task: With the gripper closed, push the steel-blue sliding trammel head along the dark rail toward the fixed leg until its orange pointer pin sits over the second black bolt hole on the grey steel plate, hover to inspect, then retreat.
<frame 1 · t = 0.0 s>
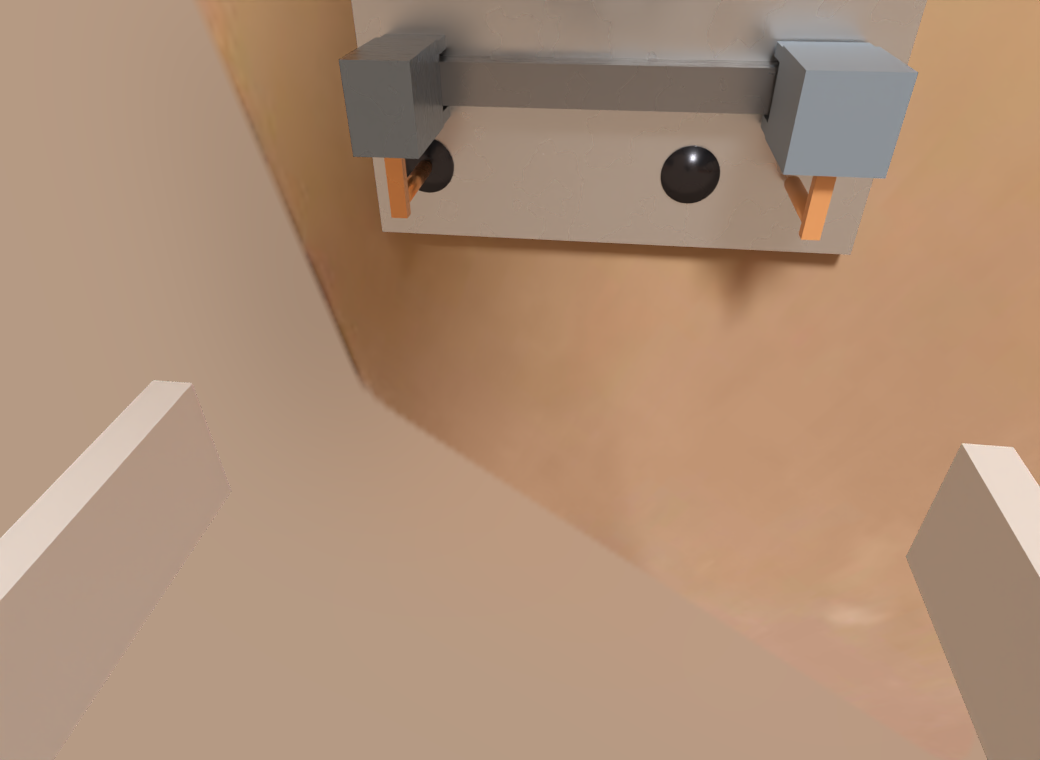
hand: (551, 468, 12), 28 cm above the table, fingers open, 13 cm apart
slider: (819, 142, 30), point 5 cm above the table, slide at 13.0 cm
bolt plate: (617, 106, 35), on the table
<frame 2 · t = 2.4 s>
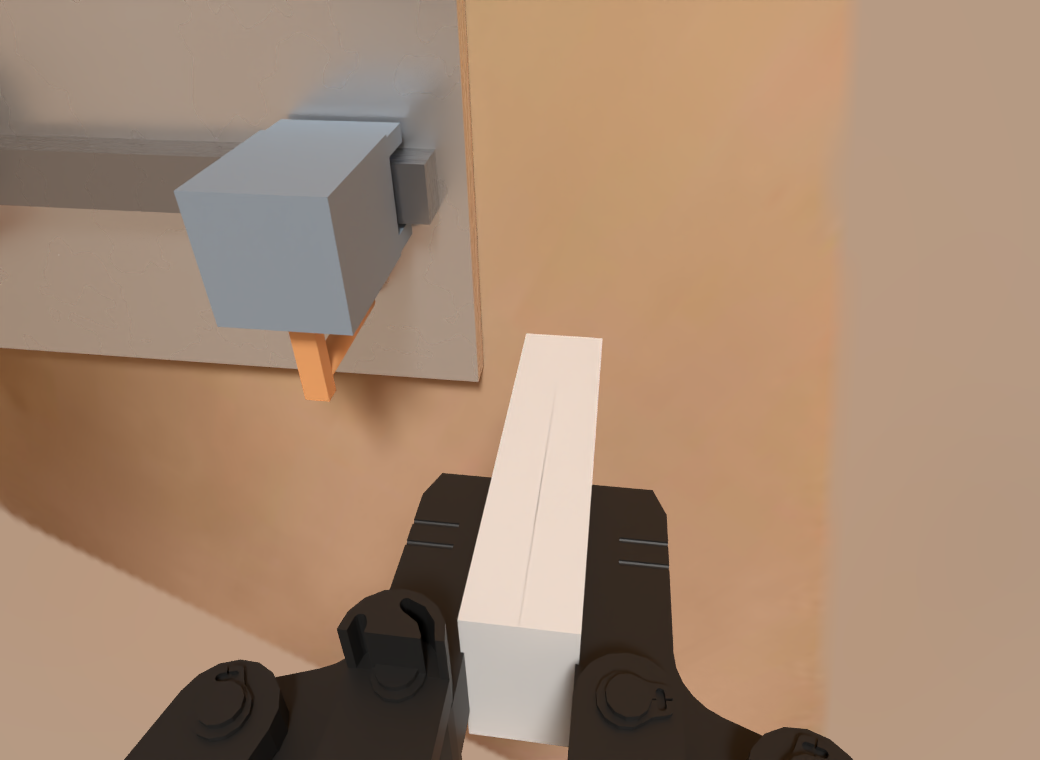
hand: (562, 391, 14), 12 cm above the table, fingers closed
slider: (323, 265, 22), point 5 cm above the table, slide at 13.0 cm
bolt plate: (142, 193, 26), on the table
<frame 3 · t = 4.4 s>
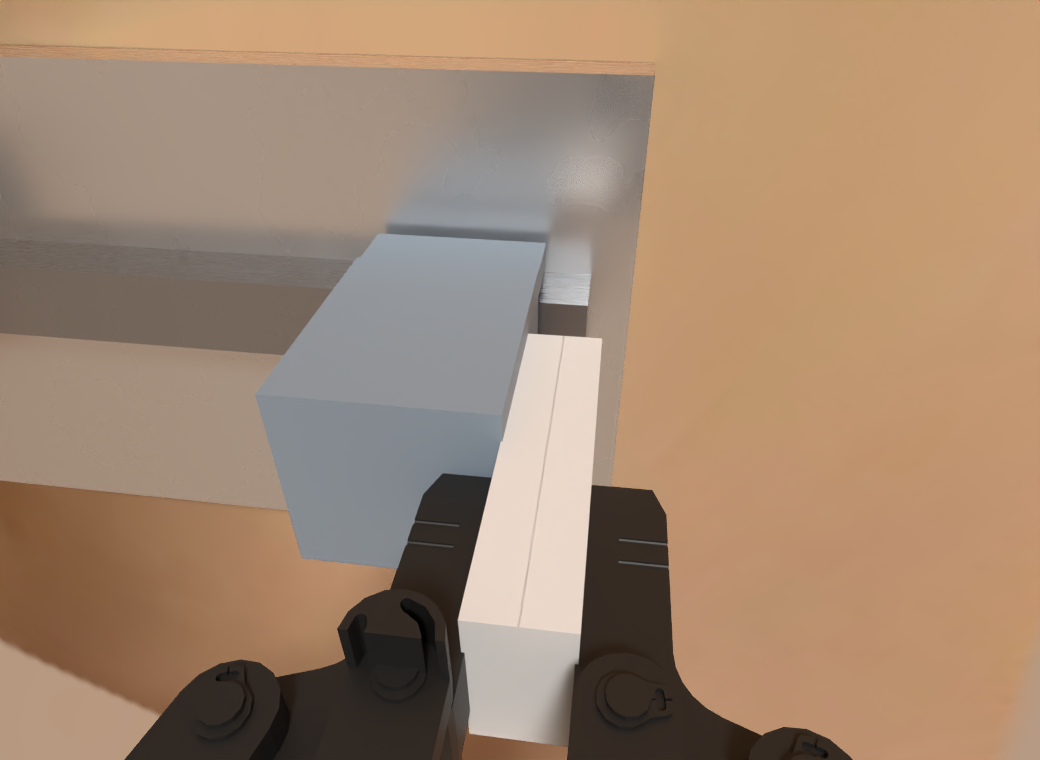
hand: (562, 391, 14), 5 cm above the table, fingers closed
slider: (439, 442, 15), point 5 cm above the table, slide at 12.9 cm, touching gripper
bolt plate: (180, 307, 20), on the table
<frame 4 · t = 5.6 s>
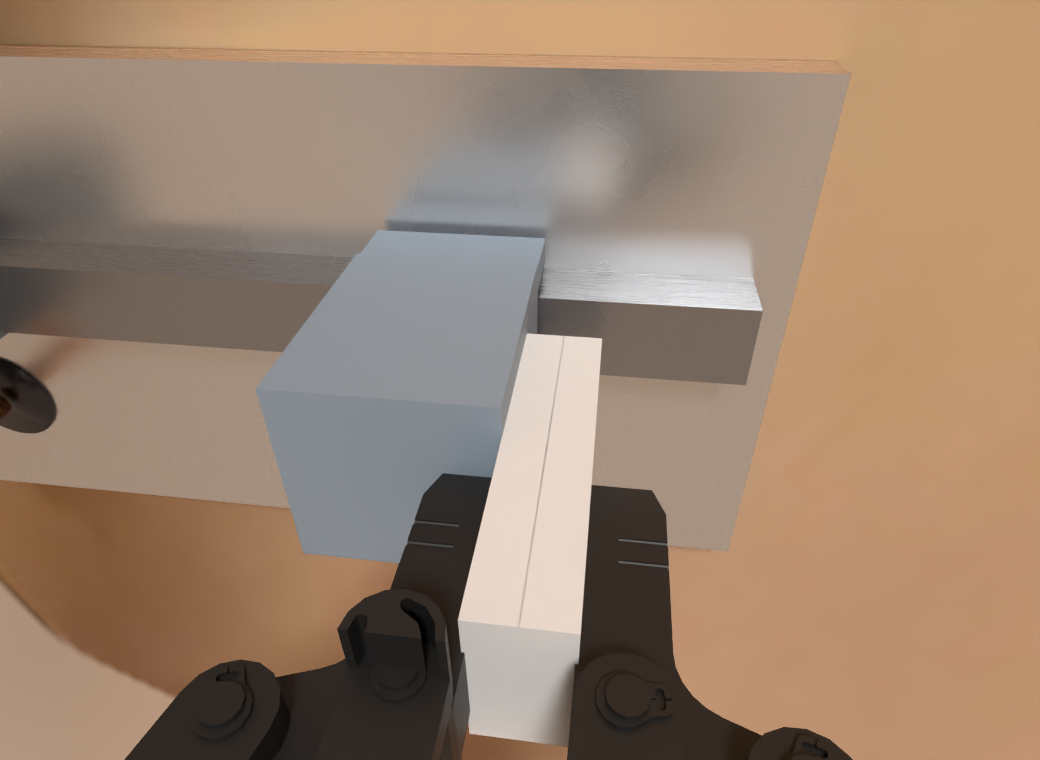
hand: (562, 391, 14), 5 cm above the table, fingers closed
slider: (440, 437, 15), point 5 cm above the table, slide at 9.1 cm, touching gripper
bolt plate: (304, 313, 20), on the table
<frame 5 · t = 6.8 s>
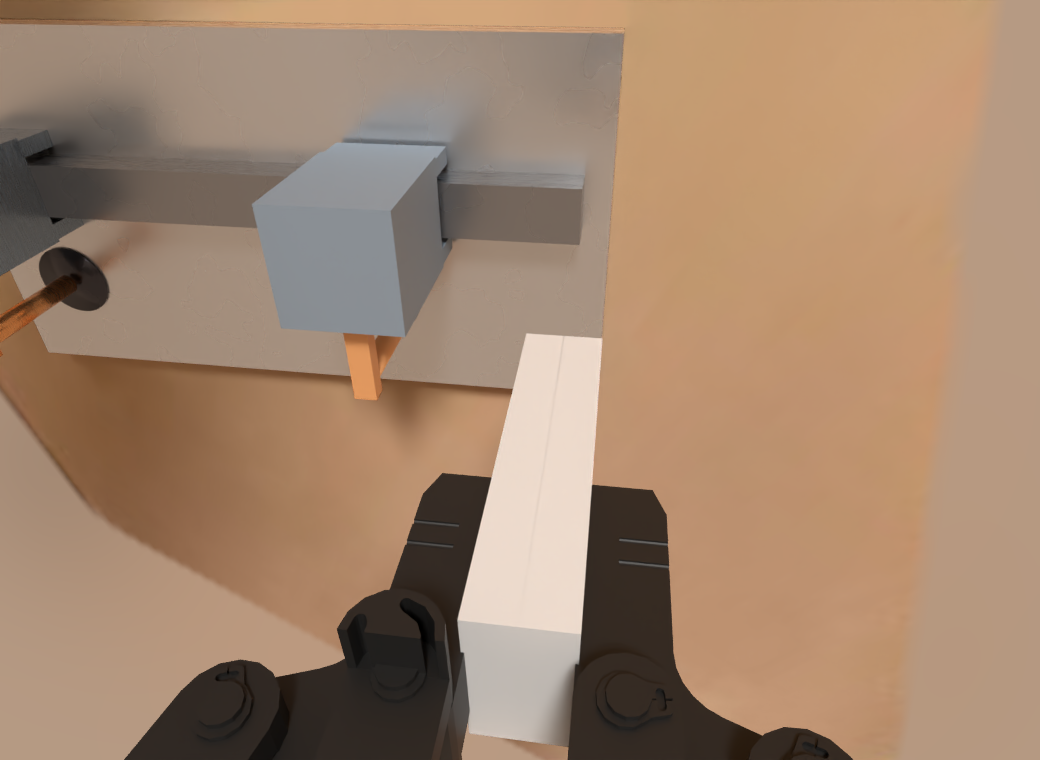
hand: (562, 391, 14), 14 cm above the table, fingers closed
slider: (374, 274, 23), point 5 cm above the table, slide at 9.1 cm
bolt plate: (289, 214, 28), on the table
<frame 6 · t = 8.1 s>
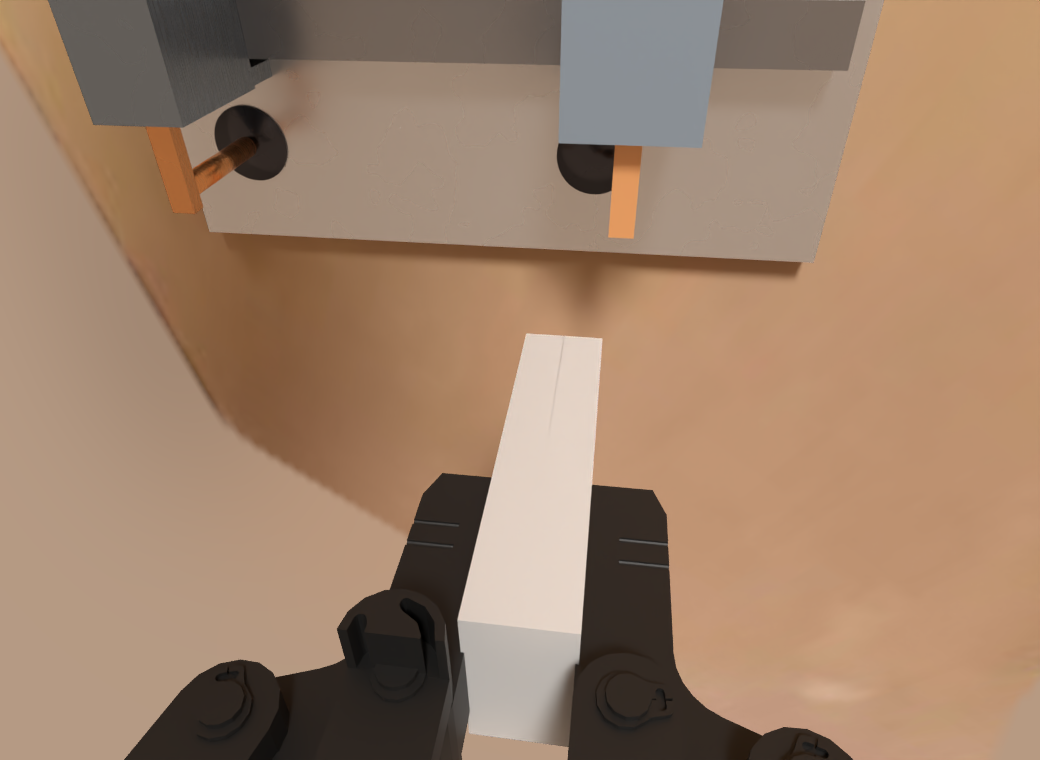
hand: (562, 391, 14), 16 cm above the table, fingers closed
slider: (631, 101, 22), point 5 cm above the table, slide at 9.1 cm
bolt plate: (495, 62, 26), on the table
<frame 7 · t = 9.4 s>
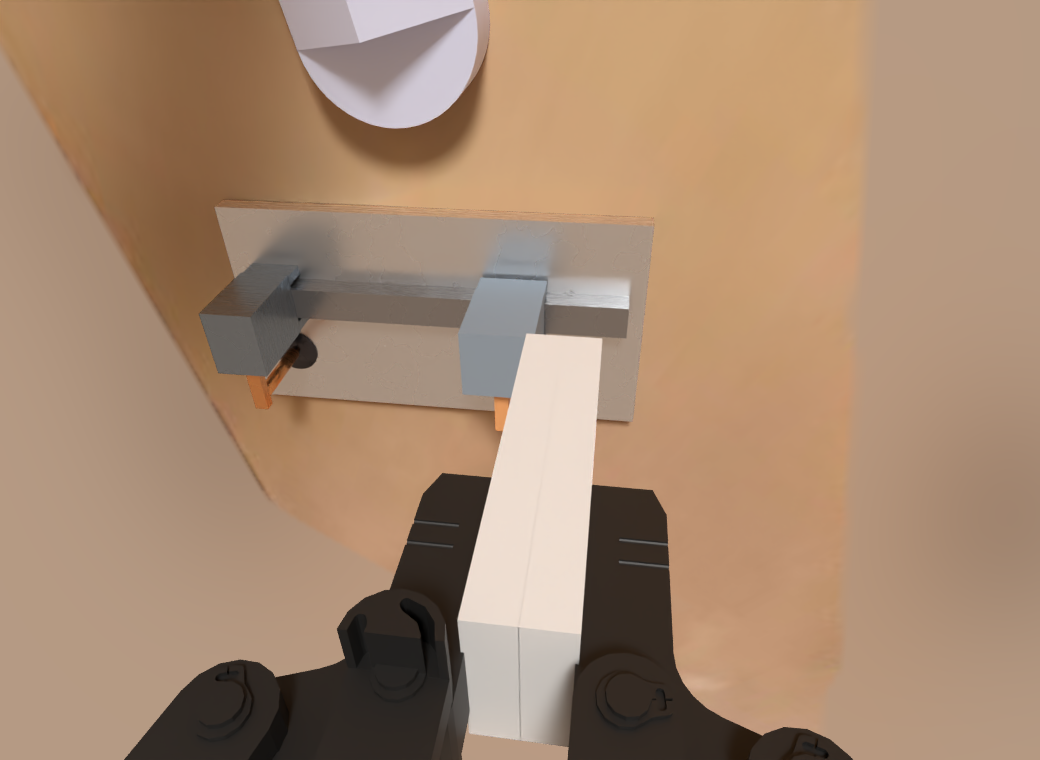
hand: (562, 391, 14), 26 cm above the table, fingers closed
slider: (506, 358, 40), point 5 cm above the table, slide at 9.1 cm
bolt plate: (440, 311, 44), on the table
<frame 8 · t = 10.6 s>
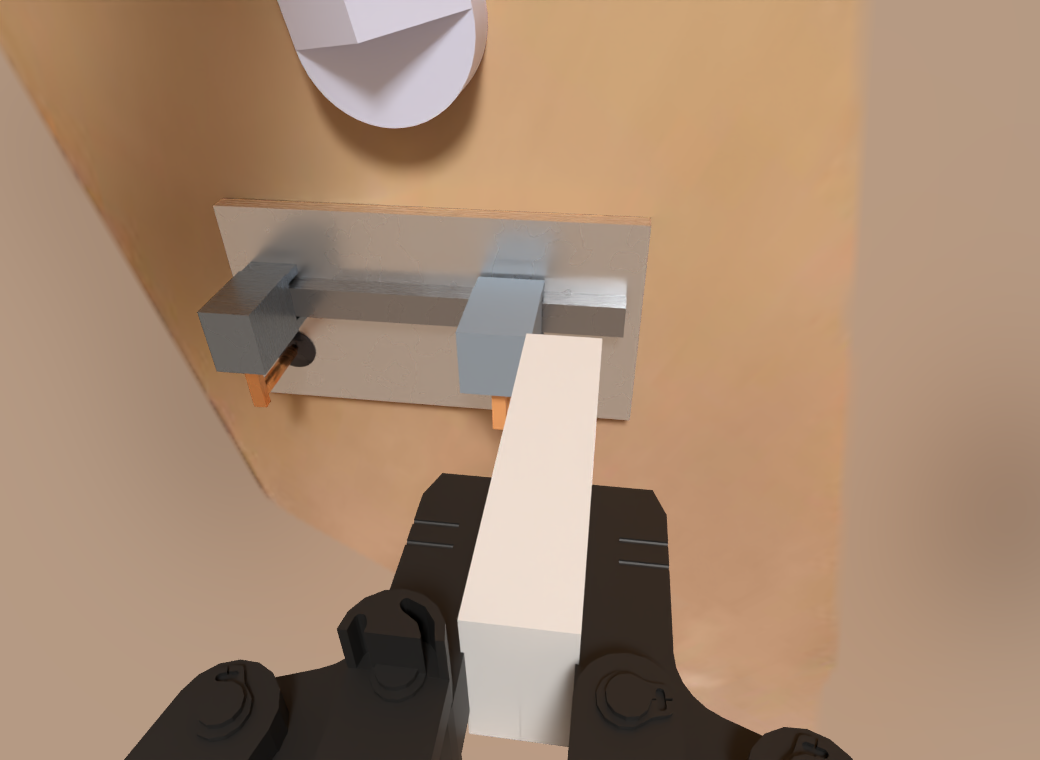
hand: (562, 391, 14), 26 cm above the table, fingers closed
slider: (504, 357, 40), point 5 cm above the table, slide at 9.1 cm
bolt plate: (438, 310, 45), on the table
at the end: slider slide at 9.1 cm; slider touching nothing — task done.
